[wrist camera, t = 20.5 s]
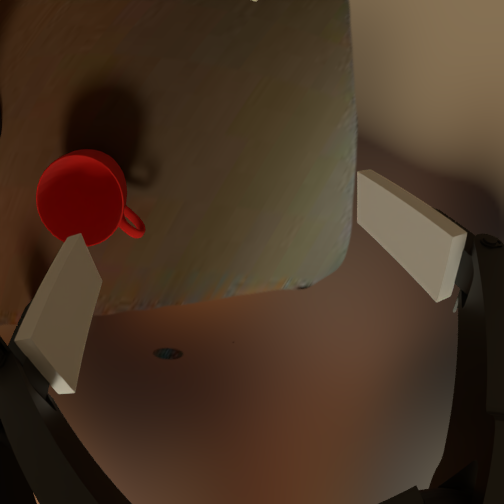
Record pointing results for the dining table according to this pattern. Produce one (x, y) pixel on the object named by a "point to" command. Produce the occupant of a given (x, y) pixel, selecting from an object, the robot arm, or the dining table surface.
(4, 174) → the dining table surface
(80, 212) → the ceramic cup
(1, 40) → the dining table surface
